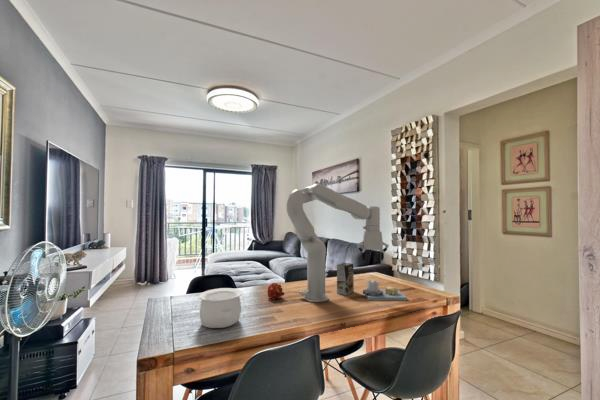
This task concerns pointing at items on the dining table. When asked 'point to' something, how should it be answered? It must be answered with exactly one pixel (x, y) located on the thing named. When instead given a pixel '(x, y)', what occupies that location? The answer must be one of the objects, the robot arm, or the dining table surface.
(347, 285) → the coffee box
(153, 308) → the dining table surface
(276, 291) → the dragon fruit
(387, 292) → the carrier
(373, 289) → the gear
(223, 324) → the pot
